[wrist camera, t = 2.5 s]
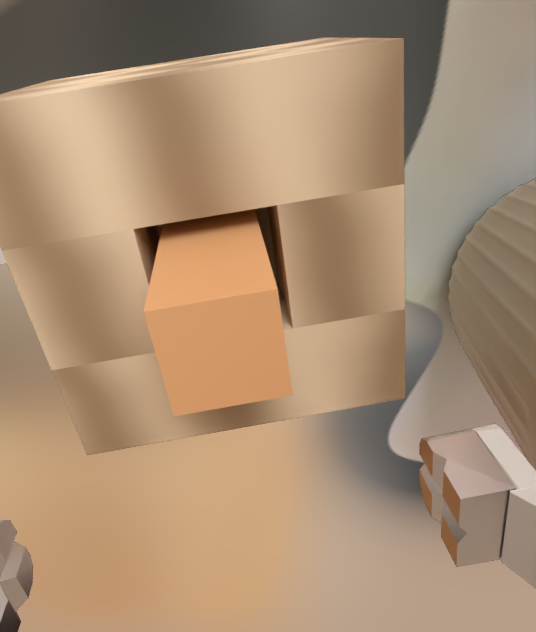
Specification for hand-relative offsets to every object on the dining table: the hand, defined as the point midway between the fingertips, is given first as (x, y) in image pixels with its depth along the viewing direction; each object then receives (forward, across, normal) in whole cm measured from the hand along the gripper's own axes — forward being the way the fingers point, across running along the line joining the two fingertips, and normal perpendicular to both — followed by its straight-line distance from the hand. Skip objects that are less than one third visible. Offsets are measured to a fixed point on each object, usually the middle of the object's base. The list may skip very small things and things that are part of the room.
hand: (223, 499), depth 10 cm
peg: (+15, 0, 0) cm, 15 cm away
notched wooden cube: (+22, 0, 0) cm, 22 cm away
